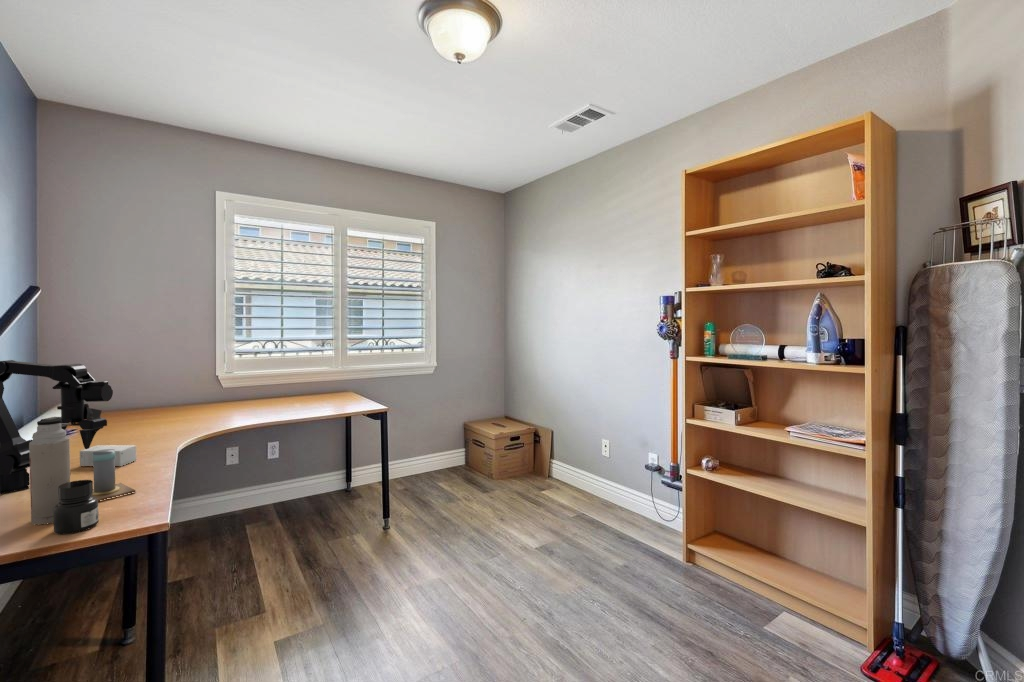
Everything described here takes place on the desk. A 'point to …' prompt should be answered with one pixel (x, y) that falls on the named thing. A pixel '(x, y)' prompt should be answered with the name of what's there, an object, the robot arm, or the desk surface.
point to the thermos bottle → (47, 468)
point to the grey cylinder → (104, 470)
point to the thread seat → (113, 492)
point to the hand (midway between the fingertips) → (73, 448)
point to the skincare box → (122, 454)
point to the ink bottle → (75, 507)
